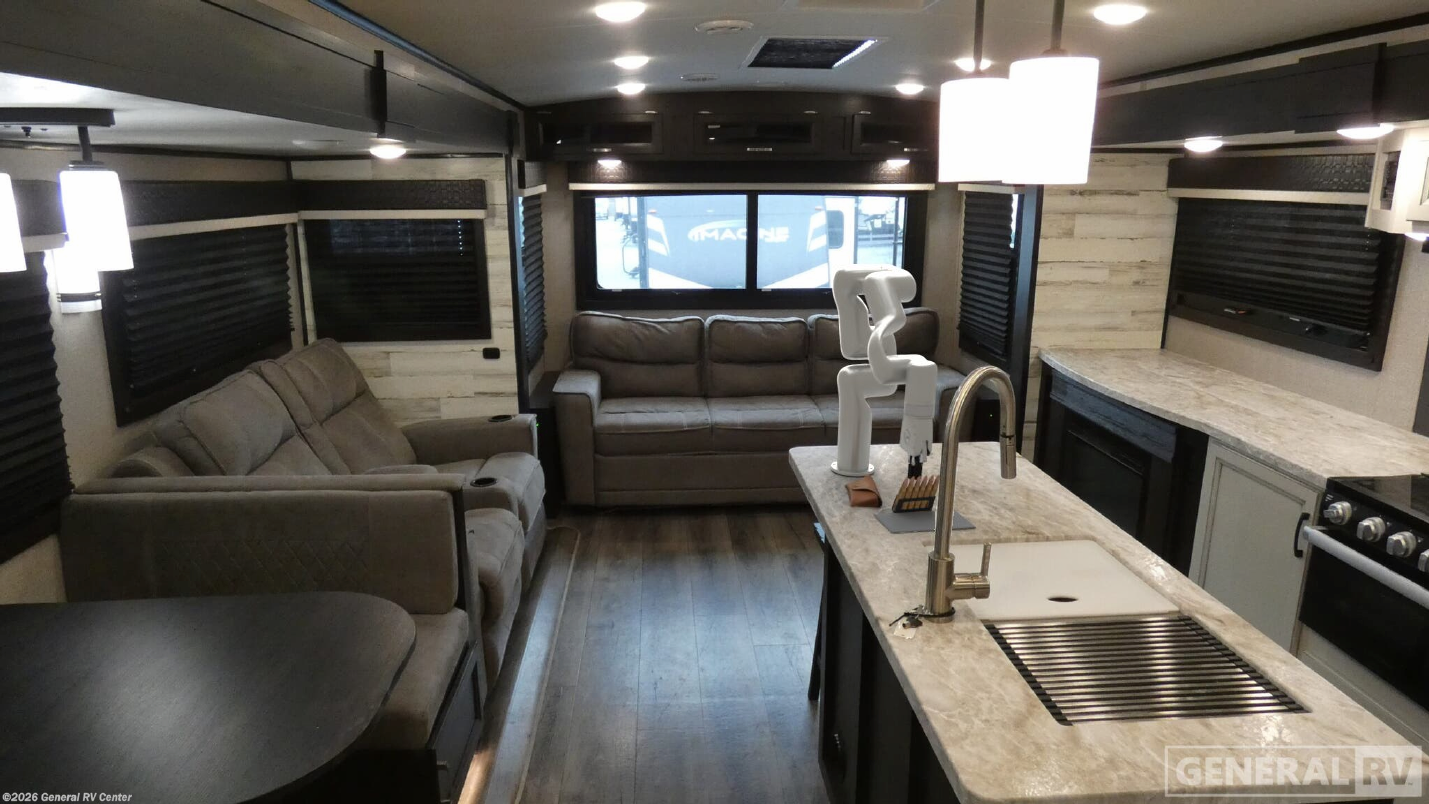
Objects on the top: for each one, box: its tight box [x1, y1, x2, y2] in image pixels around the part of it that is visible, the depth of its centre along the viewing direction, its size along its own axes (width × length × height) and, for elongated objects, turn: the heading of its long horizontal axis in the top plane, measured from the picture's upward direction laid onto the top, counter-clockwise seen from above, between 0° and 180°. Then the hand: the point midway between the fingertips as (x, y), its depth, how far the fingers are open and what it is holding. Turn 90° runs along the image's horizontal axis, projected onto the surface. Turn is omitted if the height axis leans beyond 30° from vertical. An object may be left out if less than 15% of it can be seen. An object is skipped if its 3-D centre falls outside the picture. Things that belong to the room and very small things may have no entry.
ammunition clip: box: [891, 474, 941, 513], centre depth 228 cm, size 11×2×12 cm, turn 104°
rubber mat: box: [873, 509, 977, 534], centre depth 224 cm, size 12×22×1 cm, turn 101°
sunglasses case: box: [844, 474, 883, 509], centre depth 242 cm, size 18×7×7 cm
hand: (914, 478), depth 230 cm, fingers closed
